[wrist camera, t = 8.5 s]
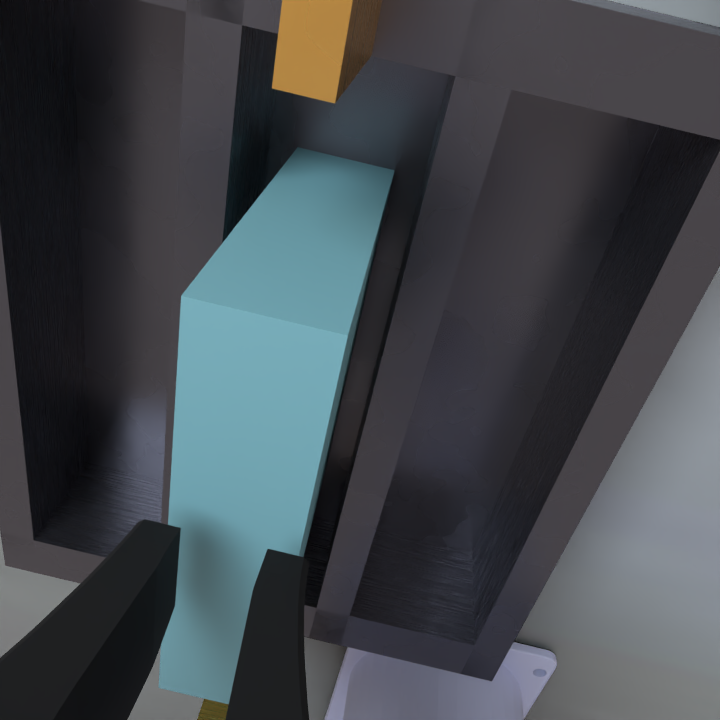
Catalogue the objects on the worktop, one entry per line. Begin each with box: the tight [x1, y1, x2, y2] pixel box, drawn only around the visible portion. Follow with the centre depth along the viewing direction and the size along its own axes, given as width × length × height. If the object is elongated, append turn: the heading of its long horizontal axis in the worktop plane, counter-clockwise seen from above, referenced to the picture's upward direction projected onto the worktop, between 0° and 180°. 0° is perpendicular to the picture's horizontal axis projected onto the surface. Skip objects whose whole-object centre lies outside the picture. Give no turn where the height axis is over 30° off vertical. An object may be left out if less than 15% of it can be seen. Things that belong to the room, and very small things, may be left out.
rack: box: [0, 0, 720, 720], centre depth 16 cm, size 22×15×8 cm
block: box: [159, 147, 395, 704], centre depth 15 cm, size 10×2×8 cm, turn 169°
